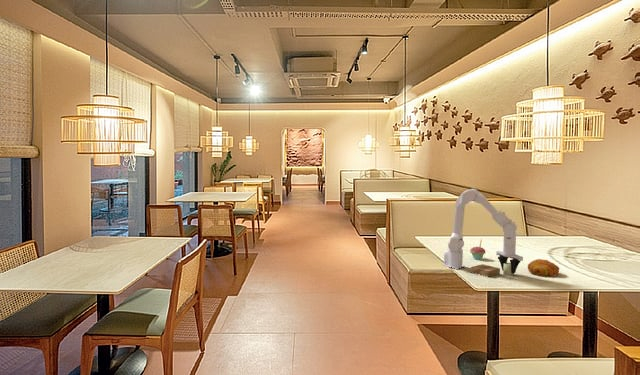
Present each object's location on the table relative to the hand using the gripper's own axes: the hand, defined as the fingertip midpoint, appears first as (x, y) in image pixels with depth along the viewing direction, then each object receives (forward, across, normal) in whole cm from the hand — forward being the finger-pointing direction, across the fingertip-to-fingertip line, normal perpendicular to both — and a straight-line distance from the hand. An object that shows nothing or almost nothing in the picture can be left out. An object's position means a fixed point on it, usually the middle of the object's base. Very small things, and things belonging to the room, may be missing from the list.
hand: (508, 271), depth 215 cm
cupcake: (+2, -31, +12) cm, 33 cm away
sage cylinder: (+1, 0, 0) cm, 1 cm away
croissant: (+2, +6, +18) cm, 19 cm away
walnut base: (+1, -7, -9) cm, 11 cm away
